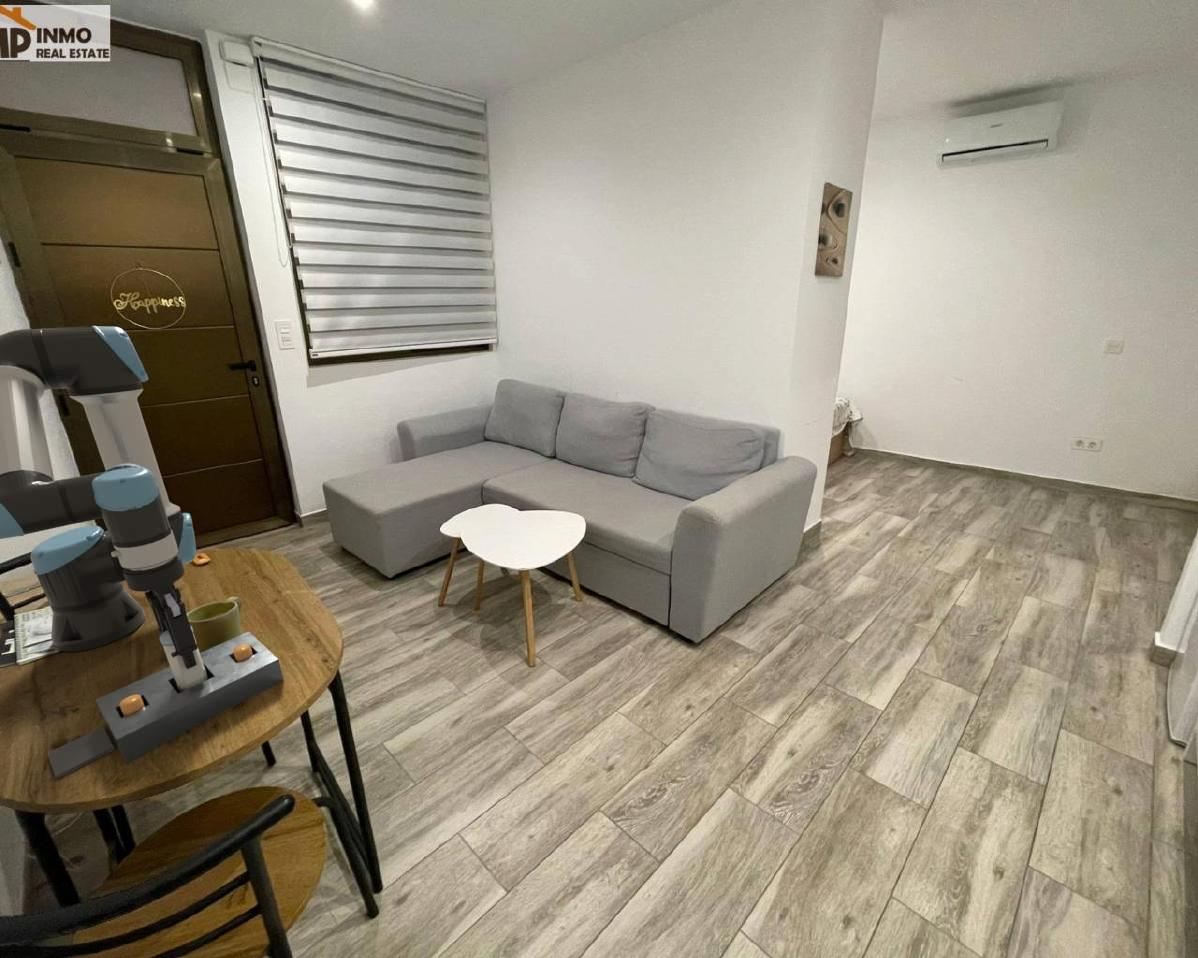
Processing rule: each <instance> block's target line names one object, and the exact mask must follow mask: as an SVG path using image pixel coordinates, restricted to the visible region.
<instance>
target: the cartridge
mask: <svg viewBox="0 0 1198 958" xmlns="http://www.w3.org/2000/svg"><path fill="white" fill-rule="evenodd" d="M191 629H192V627H191ZM192 633H193V636H194V632H193V629H192ZM158 638H159V641H160V642H159V643H160V644H161V645H162V648H163V651H164V653H165V655H166V656H165V657H166V659H167V662H168V665H169V667H171V670H172V673H173V675H174V678H175V681H176V684H177V687H178V689H179V692H180V693H181V692H184V691H186V690H188V689H190V688H192V687H194V686H196V685H198V684H200V683H202V682H204V681H206V680H208V677H207V674H206V671H205V668H204V664H203V661H202V658H201V655H200V652H199V649H196V653H197V656H198V659H199V662H200V665H201V668H202V671H203V674H204V676H203V677H201V678H199V679H197V680H195V681H193V682H191V683H189V684H187V685H186V683H185V681H184V678H183V676H182V673H181V670H180V667H179V664H178V661H177V658H176V657H172V655H171V653H173V652H175V651H176V650H175V647H174V645H173V642H172V640H171V637H170V635H169V632H168V630H167V631H165V632H164V633H161V634H160V636H159V637H158ZM194 639H195V637H194ZM195 642H196V640H195ZM196 644H197V643H196Z"/></svg>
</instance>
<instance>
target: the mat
mask: <svg viewBox="0 0 1198 958" xmlns="http://www.w3.org/2000/svg"><path fill="white" fill-rule="evenodd" d="M112 743H113V742H112V741H111V738H110V737H109V735H108V733H107V732H106V729H105V727H104V726H101V727H100V728H97V729H95V730H94V731H91V732H89V733H87V734H84V735H82V736H81V737H78V738H76V739H74V740H72V741H70V742H67V743H66V744H64V745H62V746H59V747H57V748H55V749H53V750H51V751H49V752H47V757H48V760H49V763H50V765H51V768H52V769H51V770H52V771H53V774H54V777H55V779H56V780H59V777H60V778H62V777H64V776H66V775H68V774H70V773H72V772H73V771H76V770H77V769H79V768H82V767H83V766H85V765H87V764H90V763H92V762H94V761H95V760H97V759H99V758H101V757H103V756H105V755H107V754H110V753H112V752H113V751H114V750H116V749H115V747H114V744H112ZM61 776H62V777H61Z"/></svg>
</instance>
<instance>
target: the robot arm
mask: <svg viewBox="0 0 1198 958" xmlns="http://www.w3.org/2000/svg"><path fill="white" fill-rule="evenodd" d="M147 381H149V377H148V373H147V372H146V370H145V367H144V365H143V363H142V361H141V360H140V357H139V354H138V353H137V351H136V349H135V346H134V344H133V342H132V340H131V338H130V336H129V334H128V333H127V332H126V331H125V330H124V329H123V328H121V327H119V326H106V325H105V326H100V325H99V326H96V325H91V326H76V327H75V326H72V327H71V326H69V327H54V328H53V327H52V328H51V327H50V328H36V329H35V328H33V329H32V328H23V329H16V330H12V331H8V332H6V333H2V334H0V540H4V539H9V538H14V537H15V538H17V537H23V536H26V535H30V534H34V533H38V532H44V531H47V530H48V531H49V530H51V529H56V528H57V529H58V528H61V527H64V526H70V525H74V524H81V523H85V522H89V521H90V522H91V521H95V520H100V519H103V521H104V524H105V527H106V529H107V530H105V531H104V529H103V528H102V527H101V526H98V525H89V526H87V525H86V526H80V527H76V528H73V529H68V530H66V531H63V532H61V533H58V534H55V535H53V536H50V537H48V538H47V539H45V540H43V541H41V542H40V543H39V544H37V545H36V546H34V548H33V549H32V550H31V552H30V555H29V556H30V561H31V564H32V567H33V573H34V574H35V575H36V577H37V579H38V581H39V583H40V586H41V588H42V590H43V592H44V595H45V597H46V599H47V601H48V604H49V606H50V608H51V611H52V621H51V622H52V623H51V642H52V643H53V645H54V648H55V647H56V648H57V649H56V648H55V649H56V650H58V651H60V652H66V653H71V652H72V653H74V652H83V651H87V650H88V651H89V650H91V649H95V648H99V647H101V646H106V645H107V644H110V643H112V642H116V641H117V640H120V639H122V638H123V637H126V636H128V635H129V634H131V633H132V632H134V631H135V630H137V629H138V628H139V627H140V626H142V624H143V623H144V621H145V619H146V614H145V612H144V608H143V607H142V606H141V605H140V603H139V602H138V601H137V600H135V598H134V597H132V595H131V594H130V593H129V592H128V591H126V589H125V587H124V585H123V582H126V583H127V587H128V589H130V590H131V591H132V592H133V591H134V592H139V593H140V592H144V597H145V598H146V600H147V601H148V603H149V606H150V609H151V610H152V613H153V616H154V618H155V621H156V624H157V627H158V632H160V633H161V634H162V633H164V632H165V631H167V630H168V632H169V635H170V637H171V640H172V642H173V645H174V647H175V650H176V651H175V652H173V653H171V655H172V657H176V658H177V661H178V664H179V667H180V670H181V673H182V676H183V678H184V681H185V683H186V685H187V684H189V683H191V682H193V681H195V680H197V679H199V678H201V677H203V676H204V674H203V671H202V668H201V665H200V662H199V659H198V656H197V653H196V649H198V646H197V644H196V642H195V639H194V636H193V633H192V629H191V626H190V623H189V620H188V617H187V610H186V604H185V603H184V602H183V601H182V599H181V597H182V595H181V594H182V593H181V592H180V590H179V588H178V587H175V583H176V582H178V581H179V580H180V579H182V578H183V576H184V575H185V573H186V570H185V568H184V565H187V564H189V563H191V562H194V560H195V558H196V555H197V547H196V537H195V531H194V528H193V520H192V516H191V514H190V513H189V512H183V513H182V510H181V507H180V506H178V505H176V504H174V503H172V502H171V501H170V500H169V496H168V492H167V490H166V487H165V484H164V480H163V477H162V473H161V472H160V468H159V464H158V461H157V458H156V455H155V452H154V449H153V445H152V443H151V442H152V441H151V439H150V437H149V433H148V430H147V427H146V424H145V421H144V418H143V414H142V411H141V408H140V404H139V402H138V397H139V396H140V395H141V394H142V392H143V391H144V387H143V385H142V383H145V382H147ZM62 389H66V390H67V393H68V395H69V398H71V399H72V400H74V401H76V402H78V403H80V404H81V405H82V406H83V409H84V412H85V414H86V418H87V420H88V423H89V425H90V426H89V427H90V428H91V432H92V434H93V438H94V440H95V443H96V446H97V449H98V452H99V455H100V458H101V461H102V464H103V466H104V469H105V471H104V472H97V473H92V474H85V475H81V476H75V477H68V478H64V479H63V478H61V479H57V480H55V477H54V476H55V475H54V471H53V466H52V460H51V455H50V451H49V450H50V449H49V444H48V439H47V434H46V430H45V425H44V419H43V414H42V410H41V409H42V408H41V404H40V400H41V398H42V397H43V396H44V393H45V391H46V390H62Z"/></svg>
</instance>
